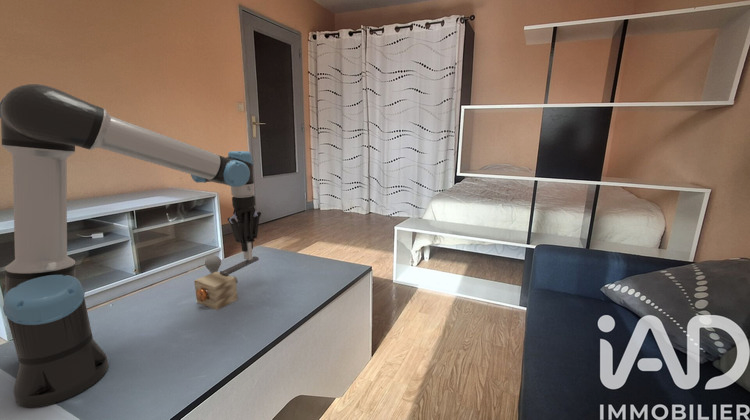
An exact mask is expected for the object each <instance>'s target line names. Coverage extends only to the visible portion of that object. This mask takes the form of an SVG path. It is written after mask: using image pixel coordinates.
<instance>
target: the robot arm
mask: <svg viewBox="0 0 750 420" xmlns="http://www.w3.org/2000/svg"><path fill="white" fill-rule="evenodd" d="M0 129H1V130H0V133H1V134H0V135H1V147H2V148H4V150H6V151H8V152H9V153H10V154H11V155H12V186H13V192H12V193H13V194H12V195H13V231H14V236H13V237H14V260H12V262H10V263H9V264H7V265H6V266H5V267H4V268H5V272H4V273H5V278H4V279H5V281H4V282H5V289H4V290H3V303H2V304H3V306H2V311H3V313H4V316H6V319H7V323H8V327H9V331H10V333H11V337H12V341H13V345H14V348H15V352H16V355H17V359H18V363H19V364H18V365H19V366H18V370H17V373H16V378H15V383H14V387H13V394H14V398H15V402H16V403H17V405H18V406H21V407H24V408H39V407H46V406H50V405H54V404H56V402H57V403H59V402H62V401H65V400H68V399H70V398H72V397H74V396H76V395H78V394H80V393H83V392H84V391H86V390H88V389H89V388H90V387H92V386H93V385H95V384H96V383H98V382H99V381H100V380H101V378H103V377H104V375H106V373H107V372H108V369H109V367H110V365H109V359H108V356H107V354H106V352H105V351H104V350H103V349H102V347H100V345H99V344H98V343H97V341H96V340H95V339H94V336H93V333H92V327H91V323H90V317H89V314H88V309H87V304H86V299H85V289H84V287H83V285H82V283H81V281H80V280H79V279H78V278H77V277H76V260H75V259H73V258H72V257H70V256H68V227H67V226H68V218H67V217H68V215H67V214H68V213H67V212H68V208H67V207H68V206H67V205H68V204H67V203H68V198H67V192H68V191H67V189H68V188H67V187H68V186H67V185H68V183H67V181H68V179H67V172H68V171H67V160H68V158H69V157H71V156H72V155H74V154H75V153H76V147H79V148H82V149H86V150H88V151H89V150H90V151H91V150H95V149H98V148H99V149H102V150H106V151H109V152H113V153H115V154H119V155H123V156H126V157H129V158H130V157H131V158H134V159H137V160H141V161H144V162H148V163H150V164H154V165H158V166H161V167H165V168H168V169H172V170H175V171H179V172H182V173H186V174H189V175H190V177H191V179H192V180H193V182H195V183H197V184H198V183H204V184H205V183H215V184H221V185H226V186H229V187H230V190H231V191H230V193H231V196H232V197H231V201H232V208H233V213H232V216H231V217H228V218H227V221H228V223H229V224H230V227H231V229H232V233H233V235H234V239H235V242H236V243H240V244H241V245H240V246H241V251H242V252H243V259H244V260H251V259H253V258H252V257H253V249H254V242H255V241H256V240H255V239H257V238H258V232H259V231H258V230H259V225H260V224H259V222H260V217H261V215H262V212H261V211H257V210H256V207H255V206H256V197H255V193H256V191H255V183H254V163H253V162H254V161H253V156H252V153H251V152H250V151H248V150H234V151H233V150H231V151H229V152H227V157H224V156H222V155H219V154H217V153H214V152H211V151H209V150H206V149H203V148H200V147H197V146H194V145H192V144H189V143H186V142H183V141H182V140H178V139H176V138H172V137H170V136H167V135H164V134H162V133H159V132H157V131H153V130H151V129H147V128H144V127H142V126H139V125H136V124H133V123H130V122H128V121H125V120H123V119H120V118H117V117H114V116H112V115H110V114H109V113H108V111H107V110H106V108H103V107H101V106H98V105H96V104H92V103H90V102H88V101H85V100H83V99H80V98H78V97H76V96H74V95H72V94H70V93H67V92H65V91H63V90H60V89H58V88H55V87H52V86H48V85H45V84H38V83H37V84H24V85H23V84H21V85H19V86H16V87H14V88H12V89H11V90H10V91H8V92H7V93H6V94H5V95H4V97H3V98H2V99H1V101H0Z"/></svg>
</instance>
